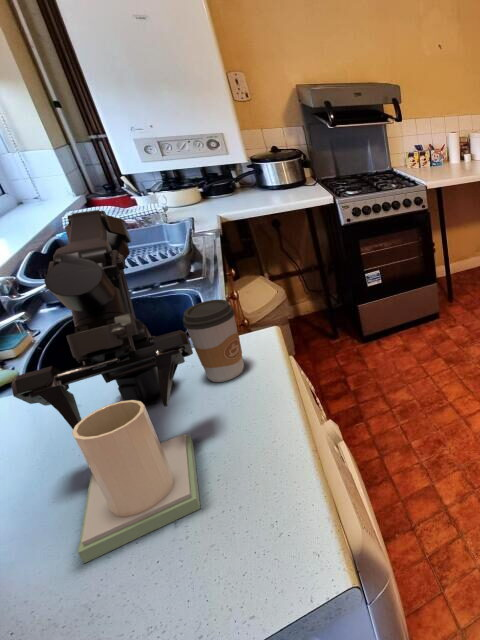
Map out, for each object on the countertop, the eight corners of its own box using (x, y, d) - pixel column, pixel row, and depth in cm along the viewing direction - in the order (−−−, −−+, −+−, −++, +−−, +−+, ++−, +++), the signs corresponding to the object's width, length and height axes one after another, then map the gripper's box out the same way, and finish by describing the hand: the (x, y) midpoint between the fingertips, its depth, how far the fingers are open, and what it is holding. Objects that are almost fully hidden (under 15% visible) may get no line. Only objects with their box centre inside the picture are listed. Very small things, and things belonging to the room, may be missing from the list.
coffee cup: (228, 388, 84) (206, 320, 79) (192, 383, 86) (168, 317, 81) (259, 363, 92) (241, 299, 86) (225, 359, 94) (206, 296, 88)
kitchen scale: (96, 480, 65) (89, 466, 64) (193, 442, 72) (188, 428, 71) (84, 563, 54) (75, 548, 53) (200, 508, 60) (194, 493, 59)
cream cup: (148, 469, 63) (116, 396, 58) (186, 477, 62) (157, 404, 57) (97, 511, 57) (57, 434, 52) (138, 521, 56) (101, 443, 51)
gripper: (-19, 324, 54) (1, 446, 50) (168, 282, 65) (196, 380, 61) (22, 350, 62) (41, 456, 59) (180, 309, 73) (206, 396, 69)
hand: (125, 420), depth 61 cm, fingers open, 9 cm apart
